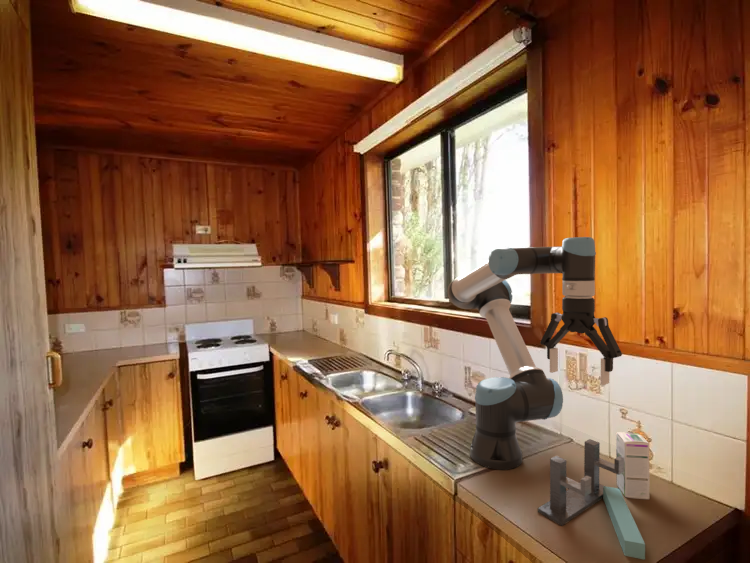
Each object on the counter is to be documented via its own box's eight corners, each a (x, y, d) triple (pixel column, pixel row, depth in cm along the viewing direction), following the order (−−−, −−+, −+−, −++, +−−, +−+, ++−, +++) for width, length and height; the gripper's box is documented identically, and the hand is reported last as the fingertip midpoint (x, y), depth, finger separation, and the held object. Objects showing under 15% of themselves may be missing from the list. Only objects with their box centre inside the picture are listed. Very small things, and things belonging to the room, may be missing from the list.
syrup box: (650, 500, 96) (651, 442, 96) (624, 497, 98) (624, 440, 97) (639, 487, 102) (640, 432, 101) (614, 484, 103) (615, 431, 103)
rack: (537, 512, 93) (537, 458, 92) (587, 481, 105) (587, 434, 104) (579, 536, 84) (579, 477, 84) (627, 500, 97) (628, 448, 96)
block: (624, 557, 79) (624, 540, 79) (603, 499, 98) (603, 486, 97) (644, 561, 78) (645, 544, 77) (619, 502, 96) (619, 488, 96)
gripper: (527, 295, 110) (527, 369, 111) (623, 301, 89) (622, 392, 90) (543, 293, 114) (543, 365, 115) (638, 299, 93) (637, 386, 94)
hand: (577, 377), depth 103 cm, fingers open, 13 cm apart
